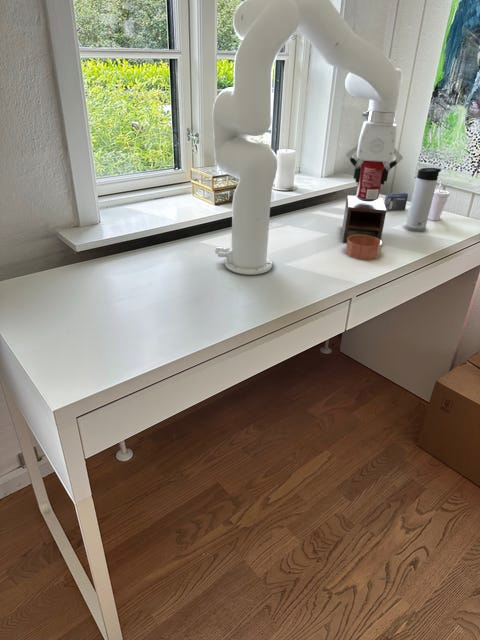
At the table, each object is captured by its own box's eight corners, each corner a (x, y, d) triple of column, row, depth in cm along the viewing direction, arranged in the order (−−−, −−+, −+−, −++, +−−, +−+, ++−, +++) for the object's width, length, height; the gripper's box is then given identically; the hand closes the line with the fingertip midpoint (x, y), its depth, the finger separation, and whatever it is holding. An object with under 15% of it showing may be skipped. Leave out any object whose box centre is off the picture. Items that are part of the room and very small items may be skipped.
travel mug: (422, 233, 154) (437, 171, 143) (402, 228, 157) (416, 167, 147) (428, 228, 158) (443, 167, 148) (409, 224, 161) (423, 164, 151)
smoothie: (422, 215, 171) (431, 176, 163) (440, 216, 170) (450, 177, 163) (426, 220, 165) (435, 180, 158) (444, 222, 164) (455, 182, 157)
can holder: (346, 257, 133) (348, 244, 131) (345, 245, 142) (347, 233, 140) (380, 261, 132) (383, 247, 130) (377, 248, 140) (380, 236, 138)
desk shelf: (342, 242, 144) (348, 207, 138) (342, 228, 155) (347, 195, 149) (379, 245, 143) (386, 210, 137) (376, 231, 154) (382, 198, 148)
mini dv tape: (384, 210, 174) (388, 194, 171) (382, 209, 175) (386, 193, 172) (404, 210, 175) (408, 194, 172) (402, 208, 177) (406, 192, 174)
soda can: (380, 203, 140) (388, 161, 134) (357, 202, 140) (364, 160, 134) (374, 196, 146) (382, 156, 140) (353, 195, 146) (359, 155, 139)
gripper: (349, 117, 129) (340, 183, 138) (414, 121, 127) (400, 188, 136) (348, 114, 135) (339, 177, 144) (410, 118, 133) (397, 181, 142)
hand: (369, 181), depth 140 cm, fingers closed on soda can, 6 cm apart
